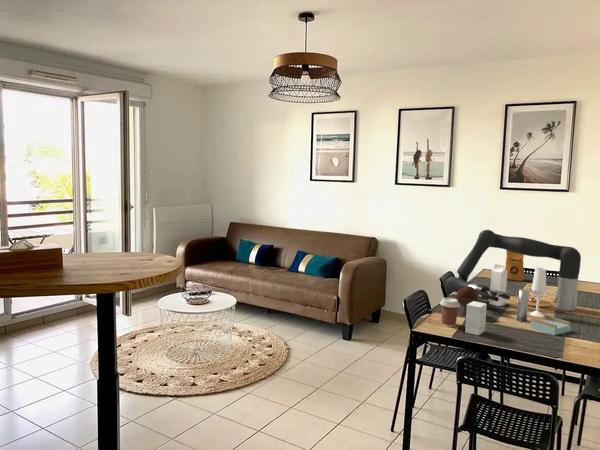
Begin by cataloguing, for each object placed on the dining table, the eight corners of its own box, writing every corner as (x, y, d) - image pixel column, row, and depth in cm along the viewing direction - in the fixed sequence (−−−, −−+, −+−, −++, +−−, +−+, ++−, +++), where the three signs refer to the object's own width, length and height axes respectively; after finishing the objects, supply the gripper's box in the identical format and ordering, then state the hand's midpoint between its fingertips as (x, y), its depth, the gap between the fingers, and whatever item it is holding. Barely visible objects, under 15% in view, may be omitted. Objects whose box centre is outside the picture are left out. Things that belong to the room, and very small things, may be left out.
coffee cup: (455, 328, 223) (457, 303, 222) (436, 325, 228) (437, 300, 227) (460, 323, 231) (462, 299, 229) (441, 320, 236) (443, 296, 234)
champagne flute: (538, 317, 244) (542, 270, 241) (526, 313, 250) (530, 267, 247) (547, 315, 247) (550, 269, 244) (535, 311, 253) (539, 266, 250)
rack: (546, 323, 233) (547, 314, 233) (570, 331, 223) (571, 322, 222) (530, 327, 227) (530, 318, 227) (554, 335, 217) (554, 325, 216)
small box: (471, 328, 225) (473, 300, 223) (485, 331, 221) (487, 303, 219) (464, 332, 218) (466, 304, 217) (478, 335, 214) (480, 307, 213)
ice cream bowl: (476, 312, 249) (478, 284, 248) (476, 318, 239) (478, 289, 237) (454, 310, 253) (456, 282, 251) (454, 316, 242) (456, 286, 241)
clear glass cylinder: (520, 318, 241) (522, 289, 239) (528, 321, 237) (531, 291, 235) (514, 319, 239) (516, 289, 237) (522, 322, 235) (525, 292, 233)
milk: (499, 306, 262) (501, 266, 259) (488, 303, 267) (491, 264, 264) (505, 304, 266) (508, 265, 263) (495, 302, 270) (497, 263, 268)
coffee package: (523, 282, 321) (525, 249, 318) (502, 280, 327) (505, 247, 324) (524, 279, 329) (526, 247, 327) (504, 277, 335) (506, 245, 333)
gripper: (469, 285, 257) (494, 292, 243) (487, 283, 264) (513, 289, 250) (468, 299, 258) (493, 307, 244) (487, 296, 265) (512, 304, 251)
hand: (503, 298), depth 247 cm, fingers open, 8 cm apart
